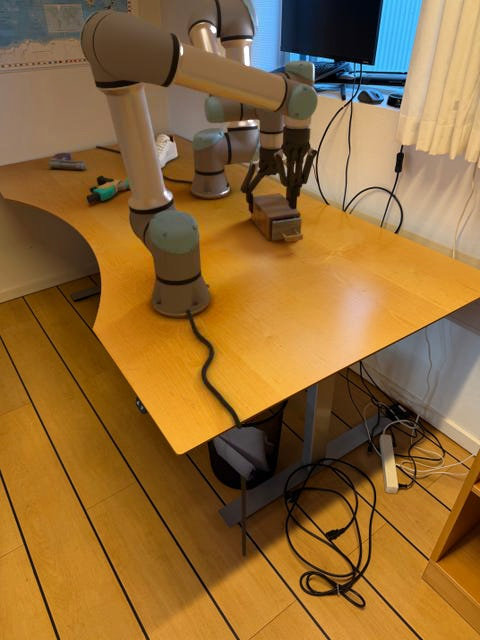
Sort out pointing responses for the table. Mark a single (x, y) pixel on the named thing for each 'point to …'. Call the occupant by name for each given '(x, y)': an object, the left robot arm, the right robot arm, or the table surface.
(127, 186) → the toy gun
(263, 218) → the cabinet
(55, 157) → the toy gun
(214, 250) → the table surface
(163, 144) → the sneaker
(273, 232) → the drawer
